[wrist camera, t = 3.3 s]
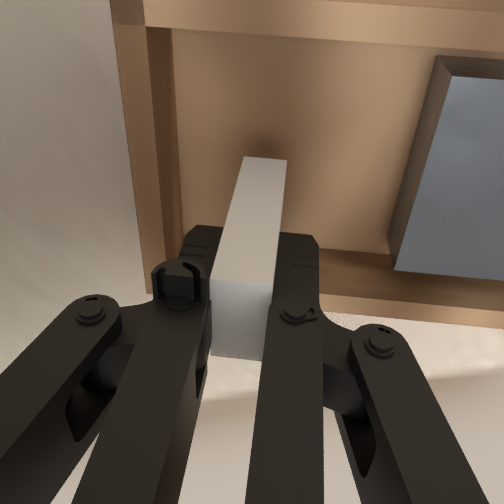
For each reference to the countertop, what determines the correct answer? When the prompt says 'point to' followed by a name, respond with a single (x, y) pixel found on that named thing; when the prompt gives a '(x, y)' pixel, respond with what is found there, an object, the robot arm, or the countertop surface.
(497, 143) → the grey square tile
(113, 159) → the countertop surface
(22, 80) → the countertop surface
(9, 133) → the countertop surface
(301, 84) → the box
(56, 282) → the countertop surface
